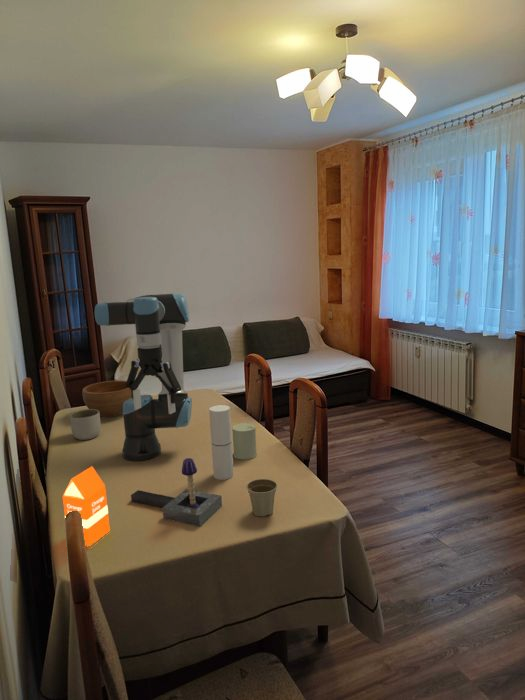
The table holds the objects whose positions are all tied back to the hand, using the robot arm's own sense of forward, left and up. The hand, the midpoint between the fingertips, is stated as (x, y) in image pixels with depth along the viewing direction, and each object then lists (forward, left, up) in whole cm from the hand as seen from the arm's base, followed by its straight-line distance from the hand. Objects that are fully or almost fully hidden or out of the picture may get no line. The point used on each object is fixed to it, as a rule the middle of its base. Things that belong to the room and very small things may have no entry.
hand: (154, 410), depth 163 cm
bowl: (-74, +59, -29) cm, 99 cm away
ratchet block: (+9, -7, -29) cm, 31 cm away
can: (+12, +38, -29) cm, 49 cm away
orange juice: (-3, -30, -29) cm, 42 cm away
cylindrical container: (+13, +19, -29) cm, 37 cm away
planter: (-64, +32, -29) cm, 77 cm away
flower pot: (+37, +1, -29) cm, 47 cm away
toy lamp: (+17, -7, -28) cm, 34 cm away
